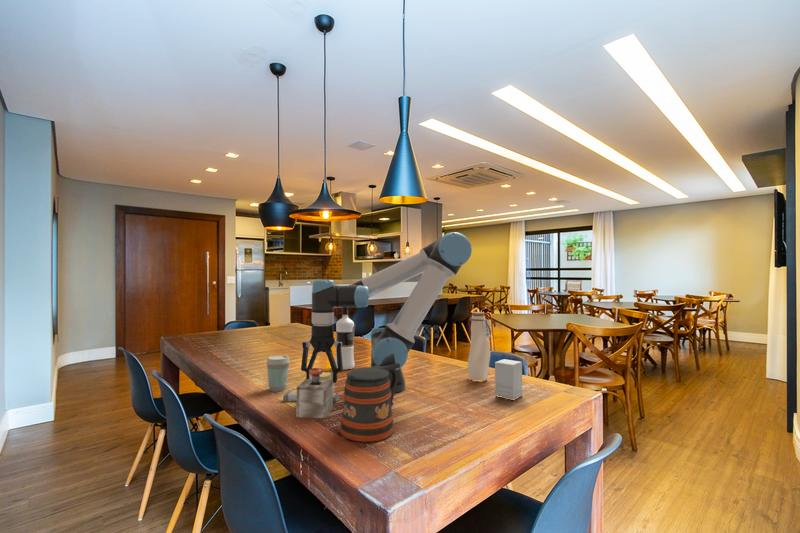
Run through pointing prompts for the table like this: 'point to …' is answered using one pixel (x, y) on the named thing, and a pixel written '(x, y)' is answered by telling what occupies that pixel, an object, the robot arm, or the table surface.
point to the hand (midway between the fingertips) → (321, 391)
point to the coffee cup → (277, 372)
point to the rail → (293, 397)
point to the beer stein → (369, 402)
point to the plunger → (315, 375)
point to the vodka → (346, 340)
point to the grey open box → (314, 399)
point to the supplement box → (508, 378)
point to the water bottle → (479, 347)
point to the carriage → (325, 376)
